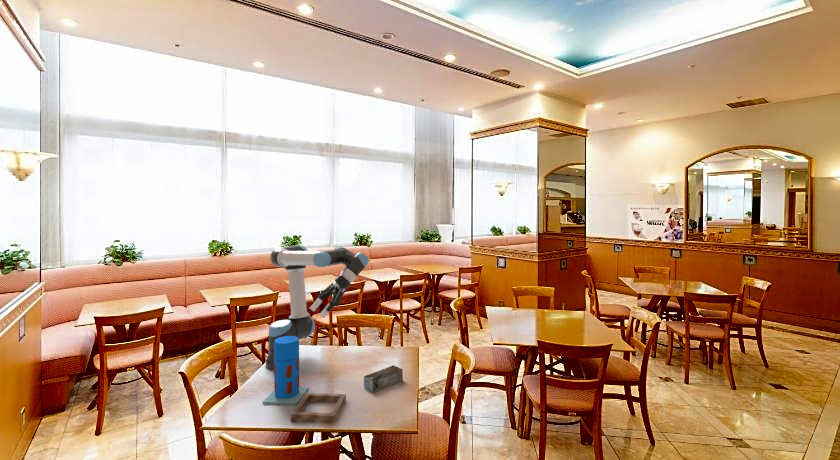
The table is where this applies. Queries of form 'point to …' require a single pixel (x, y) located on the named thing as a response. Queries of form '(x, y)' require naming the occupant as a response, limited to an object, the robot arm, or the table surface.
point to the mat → (289, 401)
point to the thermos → (286, 366)
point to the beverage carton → (383, 378)
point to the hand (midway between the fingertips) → (316, 313)
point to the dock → (318, 417)
